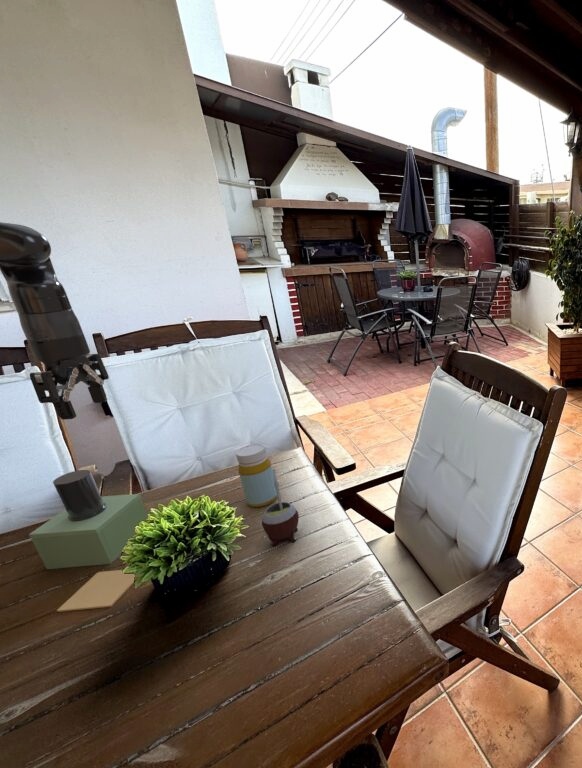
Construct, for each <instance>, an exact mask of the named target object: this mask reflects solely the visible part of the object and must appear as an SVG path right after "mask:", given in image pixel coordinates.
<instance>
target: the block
mask: <svg viewBox="0 0 582 768" xmlns="http://www.w3.org/2000/svg"><path fill="white" fill-rule="evenodd" d="M101 497H102V499H103V502H104V503H106V505H107V508H106V509H105V510H104V511H103V512H102V513H100V514H98V515H96V516H94V517H92V518H89V519H86V520H82V521H75V522H73V521H70V520H69V519H68V514H67V511H66V509H65V508H64V509H63V510H62V511H60V512H59V513H57V514H56V515H54V516H53V517H52V518H50V519H49V520H47V521H46V522H44V523H42V525H41V526H39V527H38V528H36V529H34V530H33V531H32V532H30V533H28V536H29V538H30V540H31V542H32V543H33V546H34V547H35V549H36V551H37V553H38V555H39V557H40V559H41V561H42V563H43V565H44V567H45V569H46V570H56V569H65V568H67V569H68V568H79V567H91V566H101V565H102V566H103V565H112V564H113V563H114V562H115V561H116V560H118V558H119V557H120V556H121V555H122V554H123V553H122V550H123V548H124V547H125V545H126V543H127V541H128V539H130V538H131V537H133V536H134V534H135V527H136V526H137V525H138V524H139V523H140V522H141V521H143V520H146V519H148V517H149V514H148V512H147V510H146V506H145V503H144V501H143V499H142V496H141V494H140V493H130V494H118V495H117V494H115V495H103V496H102V495H101ZM121 553H122V554H121Z"/></svg>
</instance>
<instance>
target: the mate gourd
mask: <svg viewBox="0 0 582 768" xmlns="http://www.w3.org/2000/svg"><path fill="white" fill-rule="evenodd" d="M272 469H273V476H274V482H275V483H274V485H275V487H276V492H277V496H278V497H277V500H278V501H277V502H276V503H274V504H272V505H270V506H268V507H267V508H266V509H265V511H264V512H263V515H262V517H261V526H262V528H263V531H264V532H265V534H266V535H267V537H268V540H269V541H270V542H271V543H272V544H271V548H276V547H277V546H278V545H280V544H281V543H283V542H284V541H287V542H289V543H292V544H294V543H296V541H297V539H296V538H295V533H296V532H297V531H298V530H299V529H298V525H299V519H300V518H299V517H300V515H299V511H298V510H297V508H296V507H295V505H294V504H292V503H290V502H287V501H283V500H282V498H281V492H280V484H279V482H278V477H277V471H276V468H272Z"/></svg>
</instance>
